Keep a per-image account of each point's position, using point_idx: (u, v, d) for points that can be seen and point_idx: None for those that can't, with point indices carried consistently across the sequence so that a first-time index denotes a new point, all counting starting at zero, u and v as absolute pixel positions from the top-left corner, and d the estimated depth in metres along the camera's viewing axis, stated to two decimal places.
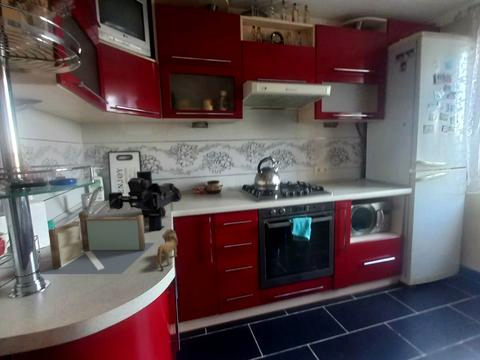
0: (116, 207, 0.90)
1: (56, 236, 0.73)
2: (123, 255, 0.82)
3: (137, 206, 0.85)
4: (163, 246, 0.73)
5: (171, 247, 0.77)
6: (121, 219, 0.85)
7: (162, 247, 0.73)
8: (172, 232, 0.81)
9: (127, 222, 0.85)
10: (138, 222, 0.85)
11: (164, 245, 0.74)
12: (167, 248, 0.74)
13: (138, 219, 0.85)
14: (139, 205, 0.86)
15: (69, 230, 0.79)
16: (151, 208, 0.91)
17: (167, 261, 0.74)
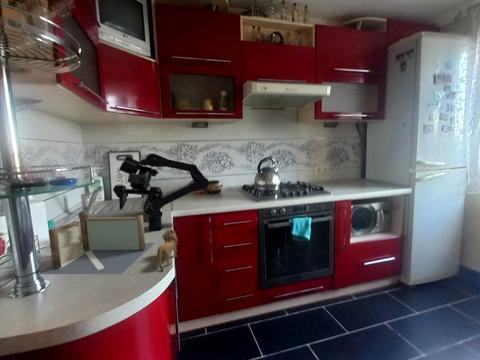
0: (124, 202, 1.00)
1: (56, 236, 0.73)
2: (123, 255, 0.82)
3: (145, 209, 0.97)
4: (163, 246, 0.73)
5: (171, 247, 0.77)
6: (121, 219, 0.85)
7: (162, 247, 0.73)
8: (172, 232, 0.81)
9: (127, 222, 0.85)
10: (138, 222, 0.85)
11: (164, 245, 0.74)
12: (167, 248, 0.74)
13: (138, 219, 0.85)
14: (146, 207, 0.97)
15: (69, 230, 0.79)
16: (156, 200, 1.02)
17: (167, 261, 0.74)
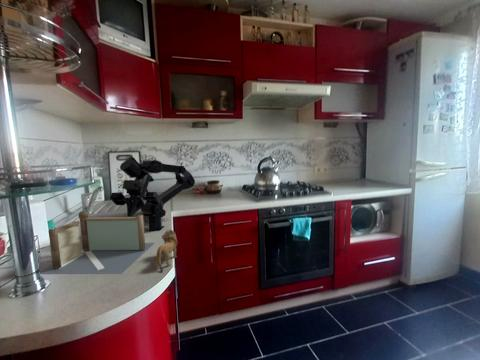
0: None
1: (56, 236, 0.73)
2: (123, 255, 0.82)
3: (130, 215, 0.94)
4: (163, 247, 0.73)
5: (171, 248, 0.76)
6: (121, 219, 0.85)
7: (162, 248, 0.72)
8: (172, 233, 0.80)
9: (127, 222, 0.85)
10: (138, 222, 0.85)
11: (164, 246, 0.73)
12: (166, 249, 0.73)
13: (138, 219, 0.85)
14: (131, 213, 0.94)
15: (69, 230, 0.79)
16: (143, 205, 0.99)
17: (167, 262, 0.73)
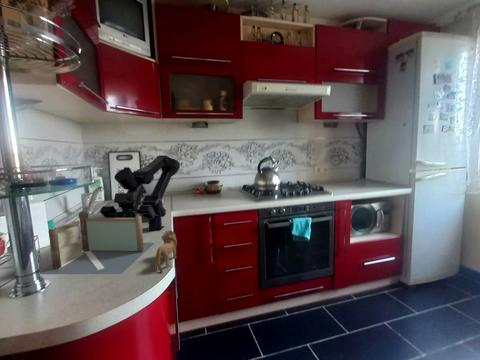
0: None
1: (56, 236, 0.73)
2: (123, 255, 0.82)
3: None
4: (162, 248, 0.72)
5: (170, 249, 0.76)
6: (119, 220, 0.84)
7: (161, 249, 0.72)
8: (171, 233, 0.80)
9: (126, 223, 0.84)
10: (136, 223, 0.84)
11: (163, 247, 0.73)
12: (166, 249, 0.73)
13: (136, 220, 0.83)
14: None
15: (69, 230, 0.79)
16: None
17: (166, 263, 0.73)
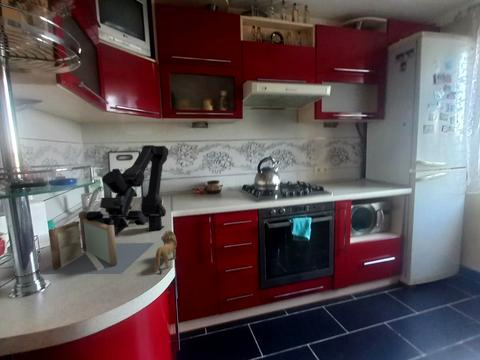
0: None
1: (56, 236, 0.73)
2: (123, 255, 0.82)
3: None
4: (162, 248, 0.72)
5: (170, 249, 0.75)
6: (98, 226, 0.77)
7: (161, 249, 0.71)
8: (171, 234, 0.79)
9: (102, 231, 0.76)
10: (107, 233, 0.74)
11: (163, 247, 0.72)
12: (166, 250, 0.72)
13: (107, 230, 0.74)
14: None
15: (69, 230, 0.79)
16: (126, 226, 0.84)
17: (166, 264, 0.72)
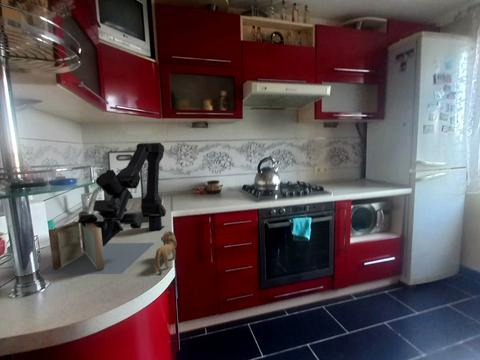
0: None
1: (56, 236, 0.73)
2: (123, 255, 0.82)
3: (104, 244, 0.76)
4: (161, 249, 0.71)
5: (170, 250, 0.75)
6: (89, 228, 0.76)
7: (160, 250, 0.71)
8: (171, 234, 0.79)
9: (92, 233, 0.74)
10: (94, 236, 0.71)
11: (162, 248, 0.72)
12: (165, 250, 0.72)
13: (93, 232, 0.71)
14: (105, 241, 0.76)
15: (69, 230, 0.79)
16: (120, 230, 0.81)
17: (166, 264, 0.72)
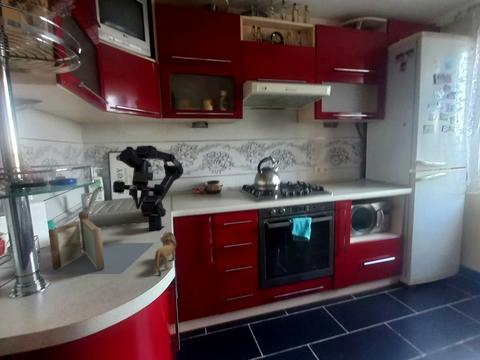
0: None
1: (56, 236, 0.73)
2: (123, 255, 0.82)
3: (139, 207, 0.95)
4: (161, 250, 0.71)
5: (169, 251, 0.74)
6: (89, 228, 0.76)
7: (160, 251, 0.70)
8: (170, 235, 0.78)
9: (92, 233, 0.74)
10: (94, 236, 0.71)
11: (162, 249, 0.71)
12: (165, 251, 0.71)
13: (93, 232, 0.71)
14: (140, 205, 0.95)
15: (69, 230, 0.79)
16: (146, 196, 1.00)
17: (165, 265, 0.71)
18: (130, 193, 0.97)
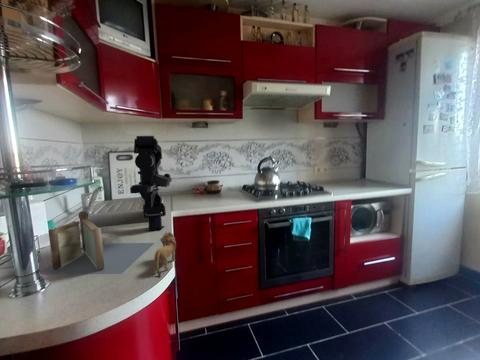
0: None
1: (56, 236, 0.73)
2: (123, 255, 0.82)
3: None
4: (161, 250, 0.70)
5: (169, 251, 0.73)
6: (89, 228, 0.76)
7: (160, 252, 0.70)
8: (170, 235, 0.78)
9: (92, 233, 0.74)
10: (94, 236, 0.71)
11: (162, 249, 0.71)
12: (165, 252, 0.71)
13: (93, 232, 0.71)
14: None
15: (69, 230, 0.79)
16: None
17: (165, 266, 0.70)
18: (144, 192, 0.94)
